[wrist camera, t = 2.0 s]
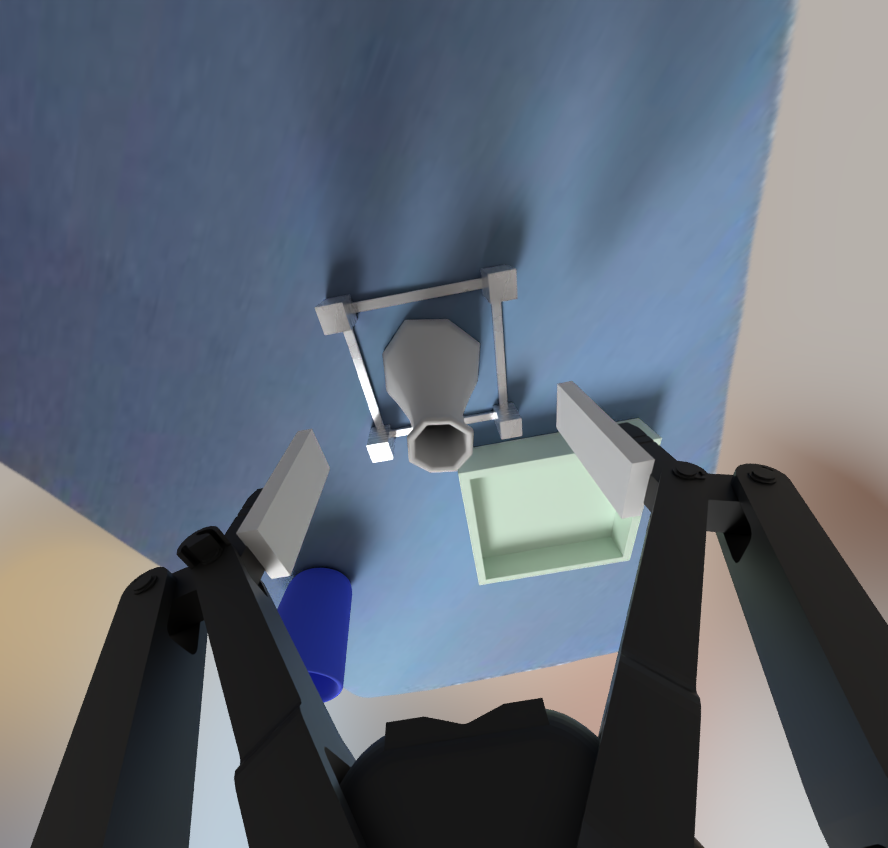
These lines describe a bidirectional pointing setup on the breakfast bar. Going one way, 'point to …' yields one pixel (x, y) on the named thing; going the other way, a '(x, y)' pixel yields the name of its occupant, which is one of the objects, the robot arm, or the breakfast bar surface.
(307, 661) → the mug
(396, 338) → the flask
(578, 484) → the bin
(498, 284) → the socket
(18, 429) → the breakfast bar surface
